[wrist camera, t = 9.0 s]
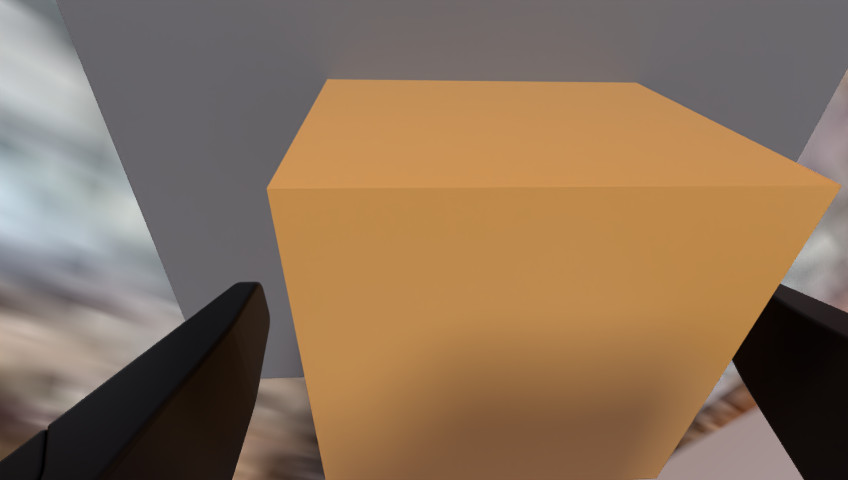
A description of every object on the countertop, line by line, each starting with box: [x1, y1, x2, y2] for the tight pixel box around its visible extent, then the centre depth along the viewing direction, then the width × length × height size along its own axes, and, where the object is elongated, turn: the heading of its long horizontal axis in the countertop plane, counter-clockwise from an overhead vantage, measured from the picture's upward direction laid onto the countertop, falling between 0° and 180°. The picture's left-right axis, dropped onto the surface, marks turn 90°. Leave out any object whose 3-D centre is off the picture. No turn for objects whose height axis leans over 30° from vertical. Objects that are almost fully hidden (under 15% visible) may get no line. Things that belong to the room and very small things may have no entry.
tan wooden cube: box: [267, 79, 842, 480], centre depth 9 cm, size 7×7×5 cm
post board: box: [56, 0, 848, 379], centre depth 10 cm, size 16×12×4 cm
